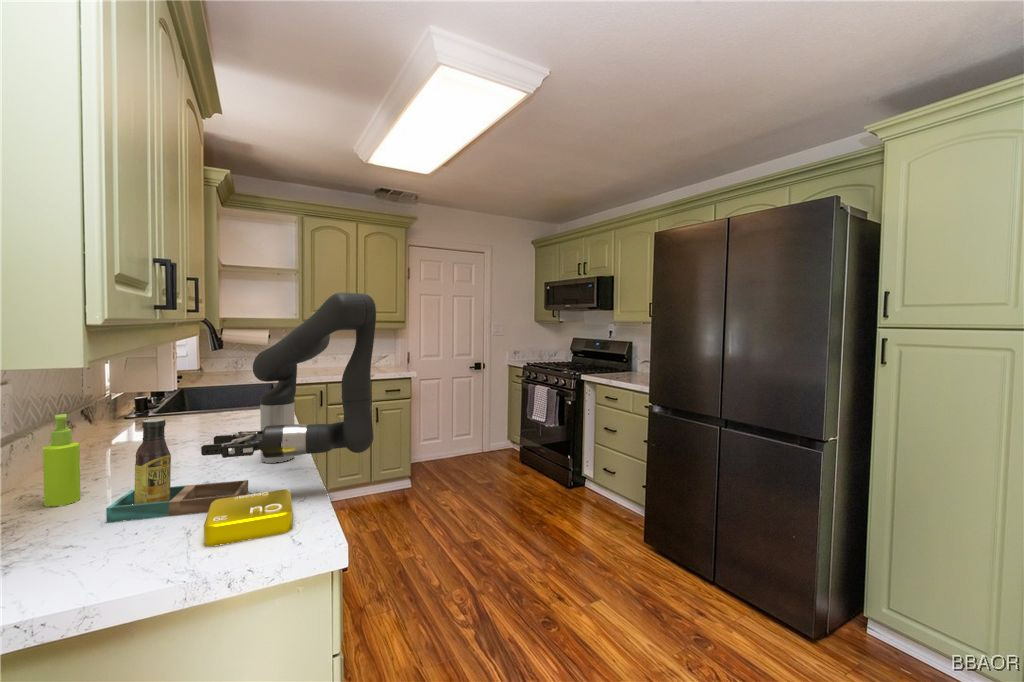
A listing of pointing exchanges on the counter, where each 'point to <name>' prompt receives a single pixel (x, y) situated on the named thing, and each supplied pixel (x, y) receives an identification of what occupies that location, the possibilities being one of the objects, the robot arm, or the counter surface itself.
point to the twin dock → (176, 501)
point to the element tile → (248, 517)
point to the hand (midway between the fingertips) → (208, 445)
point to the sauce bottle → (152, 465)
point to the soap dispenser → (61, 466)
